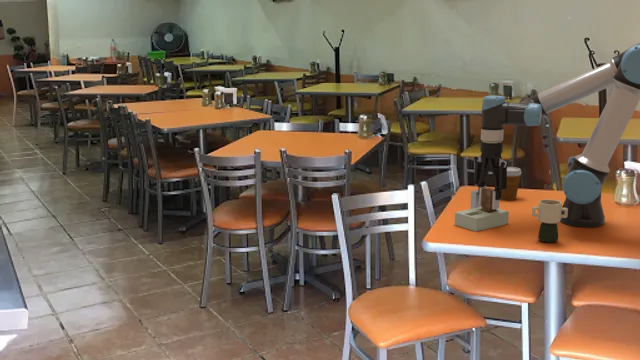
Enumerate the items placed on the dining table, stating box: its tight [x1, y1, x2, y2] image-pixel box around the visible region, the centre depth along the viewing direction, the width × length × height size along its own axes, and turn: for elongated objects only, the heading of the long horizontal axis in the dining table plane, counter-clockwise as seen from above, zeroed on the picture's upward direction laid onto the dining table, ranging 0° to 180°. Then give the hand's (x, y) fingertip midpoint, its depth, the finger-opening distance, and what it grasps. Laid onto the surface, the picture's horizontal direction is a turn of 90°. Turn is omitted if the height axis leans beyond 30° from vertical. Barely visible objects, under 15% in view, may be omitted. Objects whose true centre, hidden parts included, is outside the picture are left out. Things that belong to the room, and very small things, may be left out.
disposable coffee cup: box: [501, 166, 522, 201], centre depth 289 cm, size 10×10×12 cm
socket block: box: [454, 207, 510, 232], centre depth 254 cm, size 10×16×4 cm, turn 124°
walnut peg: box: [481, 187, 496, 213], centre depth 255 cm, size 4×4×12 cm
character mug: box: [531, 198, 568, 243], centre depth 234 cm, size 11×7×13 cm, turn 77°
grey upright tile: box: [470, 189, 482, 209], centre depth 266 cm, size 2×6×9 cm, turn 124°
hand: (488, 206), depth 255 cm, fingers open, 5 cm apart
